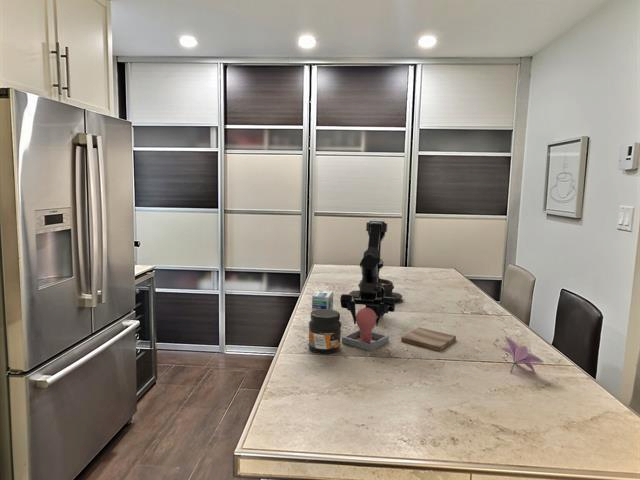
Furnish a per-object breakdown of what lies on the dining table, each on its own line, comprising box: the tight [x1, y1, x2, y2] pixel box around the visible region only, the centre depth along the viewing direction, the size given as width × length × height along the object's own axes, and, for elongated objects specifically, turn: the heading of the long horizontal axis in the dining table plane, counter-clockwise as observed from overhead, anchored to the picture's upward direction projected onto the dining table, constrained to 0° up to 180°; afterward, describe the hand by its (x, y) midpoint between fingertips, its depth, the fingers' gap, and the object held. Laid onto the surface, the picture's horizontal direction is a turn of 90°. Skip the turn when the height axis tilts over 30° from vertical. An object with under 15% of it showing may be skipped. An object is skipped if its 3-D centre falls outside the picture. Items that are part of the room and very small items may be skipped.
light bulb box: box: [311, 289, 334, 312], centre depth 174 cm, size 11×7×11 cm, turn 168°
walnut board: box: [400, 327, 457, 352], centre depth 154 cm, size 14×14×2 cm
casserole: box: [348, 278, 403, 301], centre depth 209 cm, size 25×19×8 cm
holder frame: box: [341, 328, 390, 352], centre depth 151 cm, size 12×12×2 cm
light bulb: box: [356, 307, 377, 343], centre depth 151 cm, size 7×7×12 cm
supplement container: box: [308, 309, 342, 355], centre depth 144 cm, size 10×10×12 cm
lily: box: [499, 335, 545, 373], centre depth 131 cm, size 12×12×10 cm
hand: (365, 324), depth 149 cm, fingers closed on light bulb, 7 cm apart
